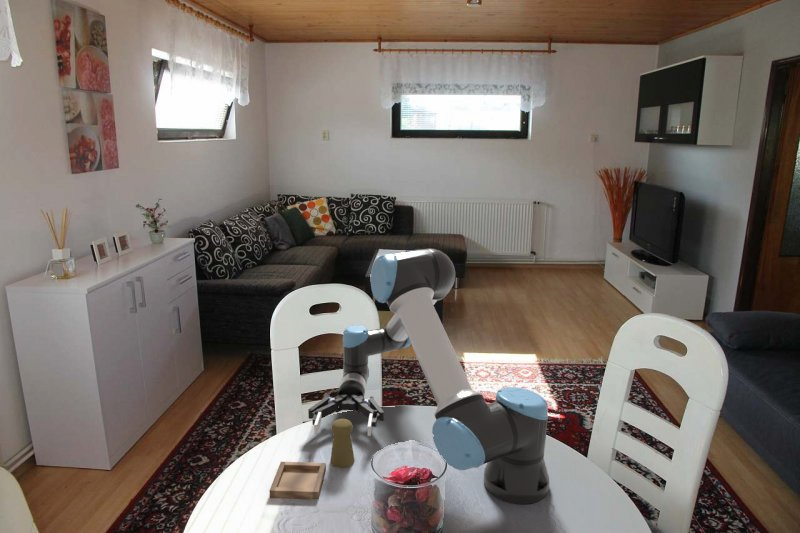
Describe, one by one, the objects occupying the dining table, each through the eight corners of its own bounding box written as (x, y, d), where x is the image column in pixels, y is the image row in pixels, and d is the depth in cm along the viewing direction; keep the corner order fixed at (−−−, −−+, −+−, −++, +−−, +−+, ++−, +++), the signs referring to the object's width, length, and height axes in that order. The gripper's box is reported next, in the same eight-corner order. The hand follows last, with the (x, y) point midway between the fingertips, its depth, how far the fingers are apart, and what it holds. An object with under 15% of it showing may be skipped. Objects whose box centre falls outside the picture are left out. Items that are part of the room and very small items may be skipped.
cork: (357, 456, 144) (357, 417, 141) (349, 470, 139) (349, 429, 136) (335, 452, 146) (335, 413, 143) (326, 465, 140) (325, 425, 137)
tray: (326, 470, 138) (325, 462, 138) (318, 499, 128) (318, 491, 127) (281, 468, 139) (280, 461, 138) (269, 498, 128) (269, 490, 128)
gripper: (394, 404, 165) (391, 445, 145) (309, 401, 166) (293, 441, 146) (395, 380, 163) (391, 418, 143) (308, 378, 164) (292, 415, 144)
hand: (342, 430), depth 144 cm, fingers open, 13 cm apart
